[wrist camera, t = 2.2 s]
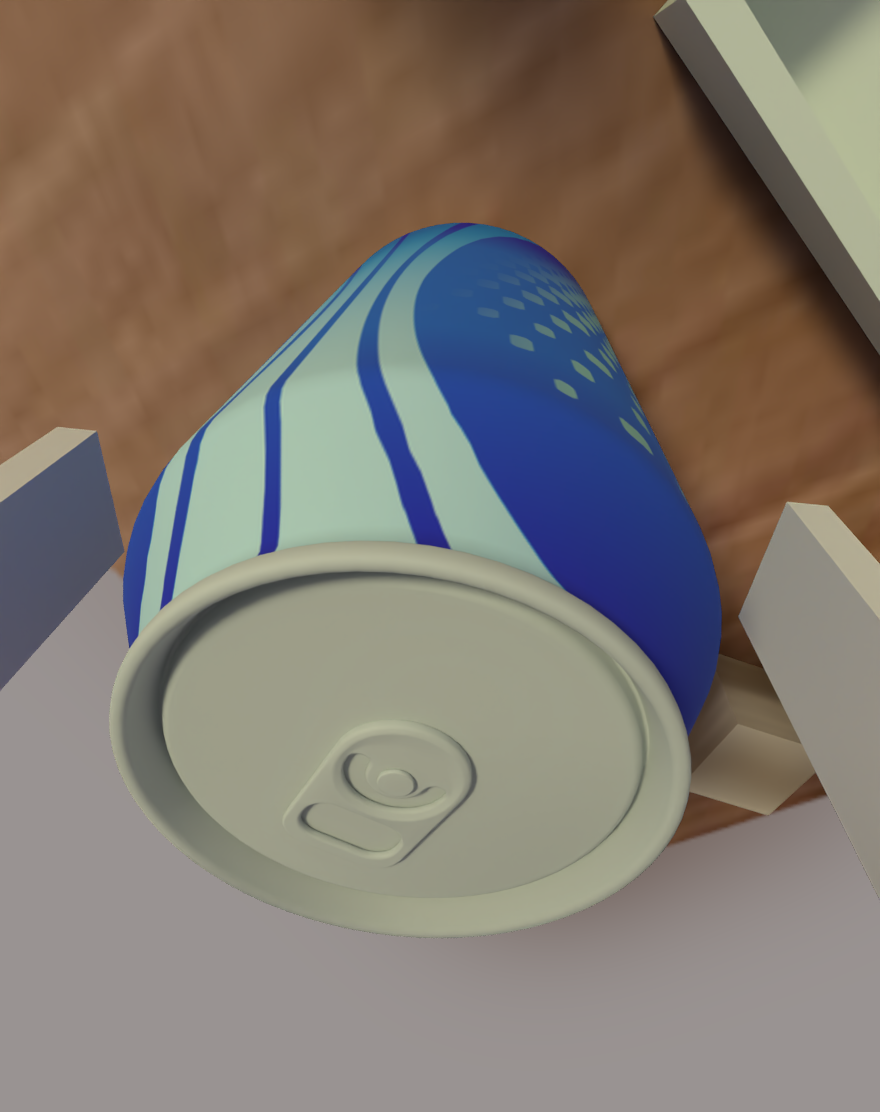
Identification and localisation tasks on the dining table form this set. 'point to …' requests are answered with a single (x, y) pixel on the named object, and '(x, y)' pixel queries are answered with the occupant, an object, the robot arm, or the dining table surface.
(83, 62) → the dining table surface
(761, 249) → the dining table surface
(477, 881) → the beer can
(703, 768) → the beech cube
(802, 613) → the robot arm
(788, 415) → the dining table surface
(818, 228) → the tray
